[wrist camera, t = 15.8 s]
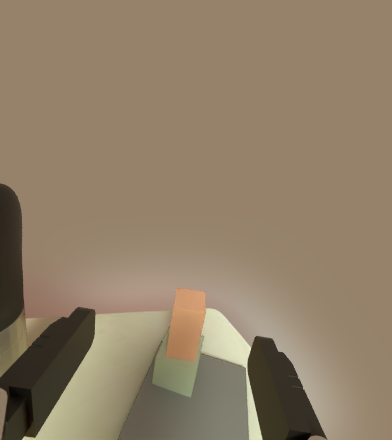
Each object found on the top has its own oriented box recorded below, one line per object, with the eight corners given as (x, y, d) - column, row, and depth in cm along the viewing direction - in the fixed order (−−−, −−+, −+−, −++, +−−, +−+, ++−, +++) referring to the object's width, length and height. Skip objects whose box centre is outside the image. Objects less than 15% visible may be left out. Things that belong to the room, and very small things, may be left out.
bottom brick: (151, 383, 34) (155, 357, 33) (165, 349, 41) (169, 325, 39) (190, 397, 33) (196, 371, 31) (198, 359, 40) (203, 336, 38)
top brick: (165, 357, 33) (173, 307, 30) (169, 332, 38) (177, 287, 35) (195, 361, 33) (205, 312, 30) (195, 336, 38) (205, 291, 35)
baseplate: (110, 460, 26) (110, 455, 25) (161, 344, 43) (161, 340, 42) (250, 521, 23) (252, 516, 23) (244, 371, 40) (245, 367, 40)
